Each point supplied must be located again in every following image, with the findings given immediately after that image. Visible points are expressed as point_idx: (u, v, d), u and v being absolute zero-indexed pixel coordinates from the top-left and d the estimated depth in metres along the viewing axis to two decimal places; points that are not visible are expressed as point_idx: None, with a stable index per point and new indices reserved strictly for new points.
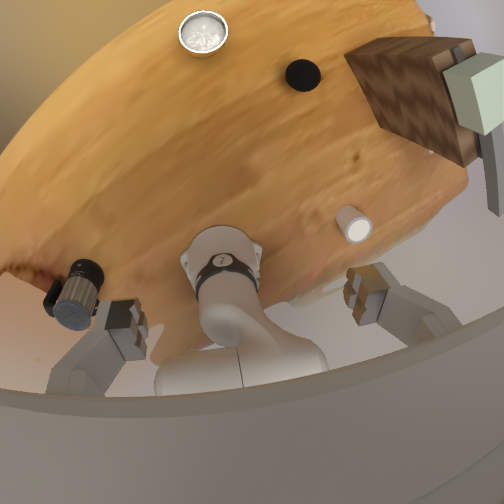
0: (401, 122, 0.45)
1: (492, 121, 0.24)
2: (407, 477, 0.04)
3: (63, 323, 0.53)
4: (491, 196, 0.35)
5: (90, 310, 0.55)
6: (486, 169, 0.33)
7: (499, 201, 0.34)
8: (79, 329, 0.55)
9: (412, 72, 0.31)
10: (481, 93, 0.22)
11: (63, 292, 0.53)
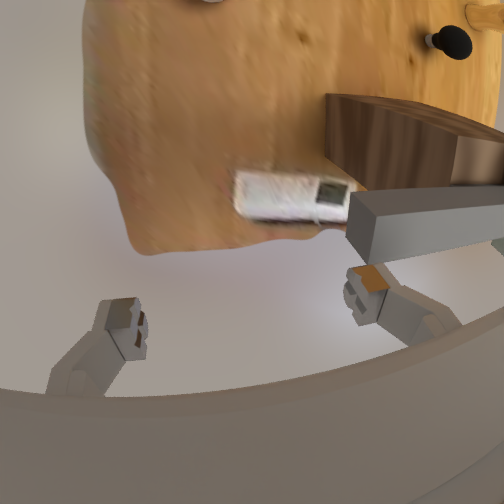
0: (388, 104, 0.29)
1: None
2: (407, 477, 0.04)
3: None
4: (410, 197, 0.15)
5: None
6: (458, 190, 0.16)
7: (423, 217, 0.14)
8: None
9: (500, 133, 0.23)
10: None
11: None
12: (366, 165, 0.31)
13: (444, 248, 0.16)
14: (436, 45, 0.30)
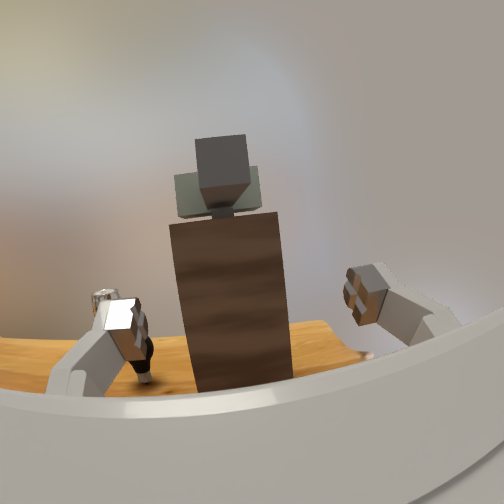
0: None
1: None
2: (407, 477, 0.04)
3: None
4: None
5: None
6: None
7: None
8: None
9: None
10: None
11: None
12: (263, 351, 0.28)
13: None
14: (145, 367, 0.45)
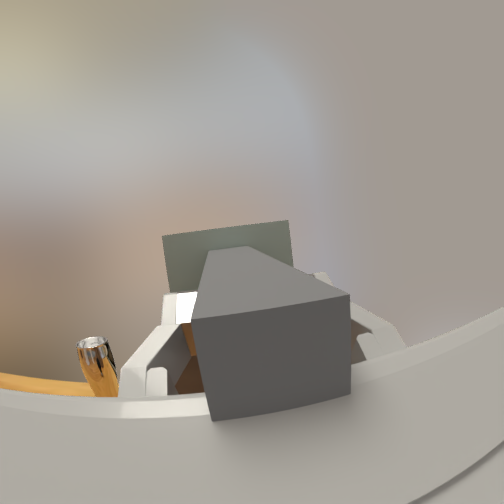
0: None
1: None
2: (407, 477, 0.04)
3: None
4: None
5: None
6: None
7: (210, 284, 0.08)
8: None
9: None
10: None
11: None
12: None
13: (277, 262, 0.11)
14: None
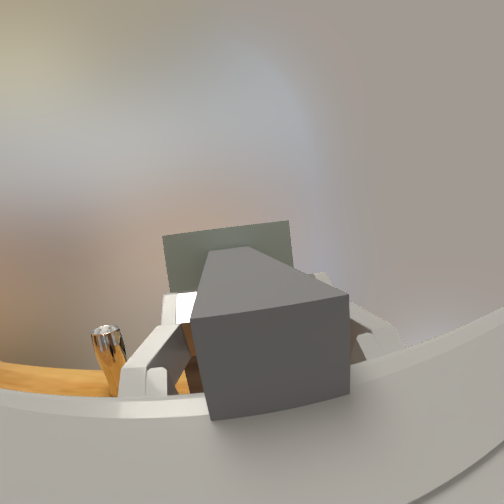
0: None
1: None
2: (407, 477, 0.04)
3: None
4: None
5: None
6: None
7: (210, 284, 0.08)
8: None
9: None
10: None
11: None
12: None
13: (276, 262, 0.11)
14: None
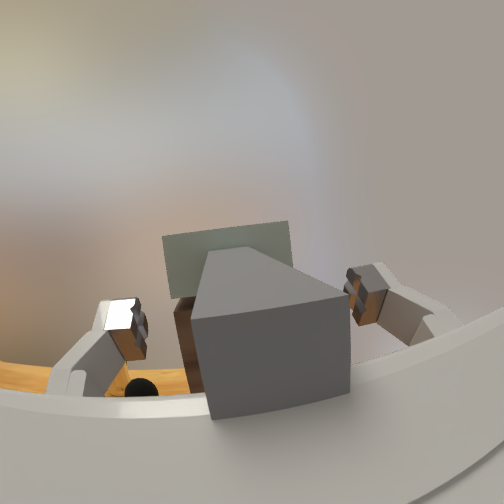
0: None
1: None
2: (407, 477, 0.04)
3: None
4: None
5: None
6: None
7: (211, 284, 0.08)
8: None
9: None
10: None
11: None
12: None
13: (276, 262, 0.11)
14: None
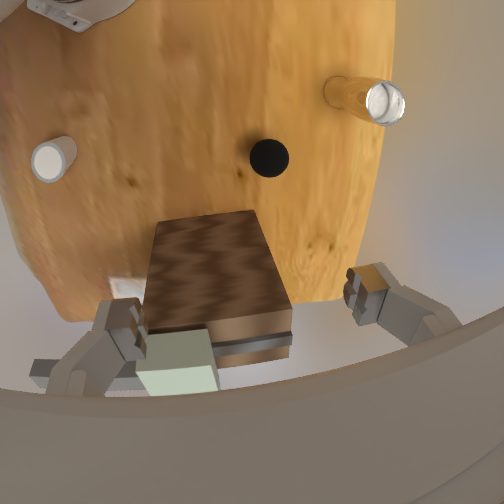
0: (175, 250, 0.45)
1: (151, 382, 0.28)
2: (407, 477, 0.04)
3: None
4: (50, 366, 0.30)
5: None
6: None
7: (47, 378, 0.29)
8: None
9: (258, 280, 0.38)
10: (188, 374, 0.28)
11: None
12: None
13: None
14: None
